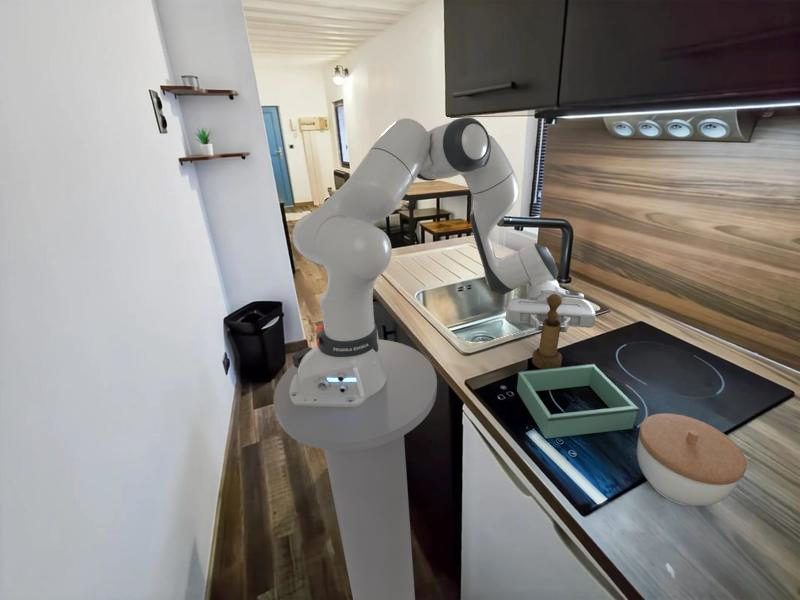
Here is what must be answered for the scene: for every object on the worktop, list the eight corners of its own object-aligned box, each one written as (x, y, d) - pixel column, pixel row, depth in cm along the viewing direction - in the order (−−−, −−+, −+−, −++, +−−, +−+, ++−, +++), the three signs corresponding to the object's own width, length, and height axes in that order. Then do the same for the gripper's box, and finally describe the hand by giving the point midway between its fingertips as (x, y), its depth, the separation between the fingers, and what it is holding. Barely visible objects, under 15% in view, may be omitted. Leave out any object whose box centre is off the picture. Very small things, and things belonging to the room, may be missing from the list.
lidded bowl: (642, 441, 66) (657, 392, 61) (733, 484, 57) (758, 431, 52) (616, 485, 58) (631, 433, 54) (716, 542, 50) (744, 486, 45)
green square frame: (545, 439, 67) (548, 418, 65) (515, 390, 80) (517, 371, 78) (633, 429, 68) (639, 408, 66) (590, 382, 81) (594, 363, 79)
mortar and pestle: (554, 374, 84) (564, 304, 76) (527, 364, 88) (534, 296, 80) (565, 361, 88) (575, 293, 81) (538, 352, 92) (546, 287, 85)
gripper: (505, 289, 96) (505, 313, 84) (589, 293, 91) (602, 319, 79) (503, 311, 99) (503, 336, 87) (586, 316, 94) (597, 344, 82)
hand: (551, 328), depth 83 cm, fingers closed on mortar and pestle, 4 cm apart
